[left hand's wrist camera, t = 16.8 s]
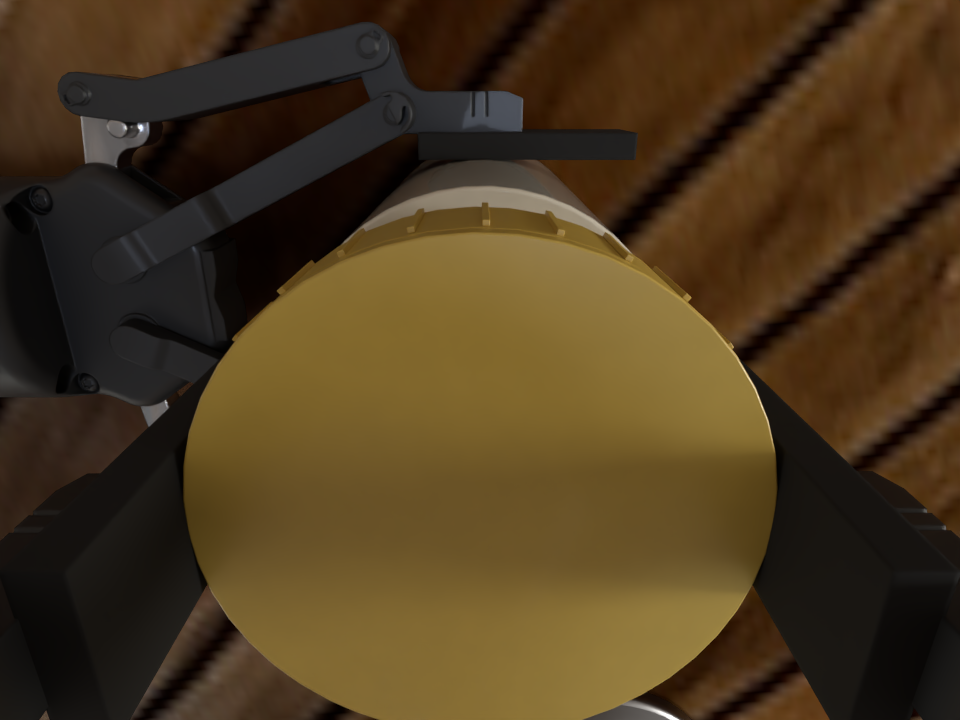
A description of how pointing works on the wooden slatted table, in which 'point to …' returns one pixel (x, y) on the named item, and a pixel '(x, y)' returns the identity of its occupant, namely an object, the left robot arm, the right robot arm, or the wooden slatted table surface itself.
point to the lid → (480, 473)
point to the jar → (483, 192)
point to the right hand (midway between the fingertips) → (614, 288)
